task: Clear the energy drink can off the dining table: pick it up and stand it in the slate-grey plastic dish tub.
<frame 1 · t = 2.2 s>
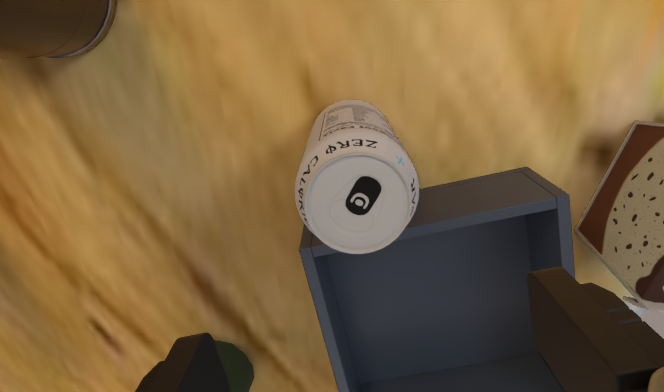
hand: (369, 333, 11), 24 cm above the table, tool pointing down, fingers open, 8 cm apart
dish tub: (431, 286, 38), on the table
energy drink can: (350, 137, 35), on the table
character mug: (222, 364, 42), on the table
food container: (636, 189, 36), on the table
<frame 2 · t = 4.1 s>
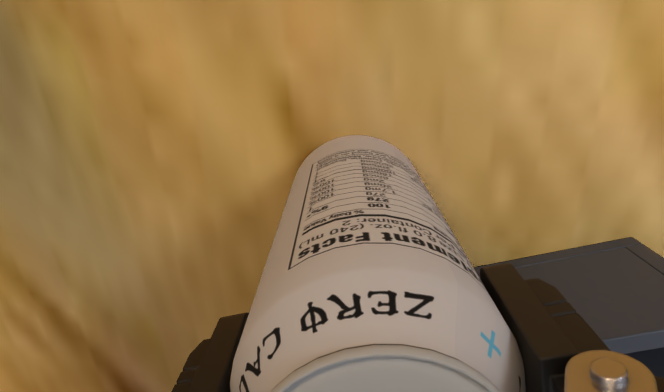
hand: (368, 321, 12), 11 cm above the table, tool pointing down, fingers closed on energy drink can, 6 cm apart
energy drink can: (355, 191, 22), on the table, touching gripper
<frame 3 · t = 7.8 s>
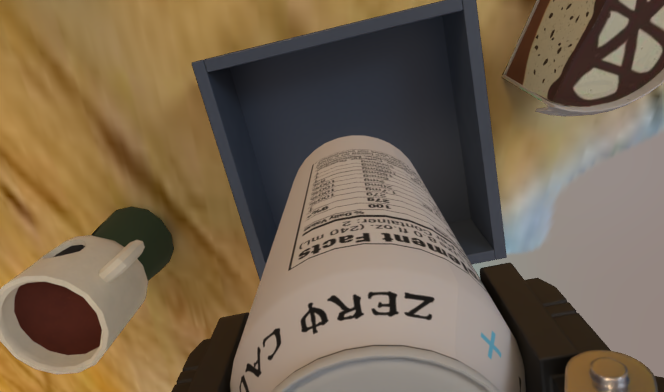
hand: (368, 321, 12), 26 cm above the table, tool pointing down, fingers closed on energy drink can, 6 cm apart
dish tub: (355, 144, 36), on the table
energy drink can: (355, 191, 22), point 15 cm above the table, touching gripper
character mug: (141, 237, 40), on the table
food container: (566, 29, 34), on the table
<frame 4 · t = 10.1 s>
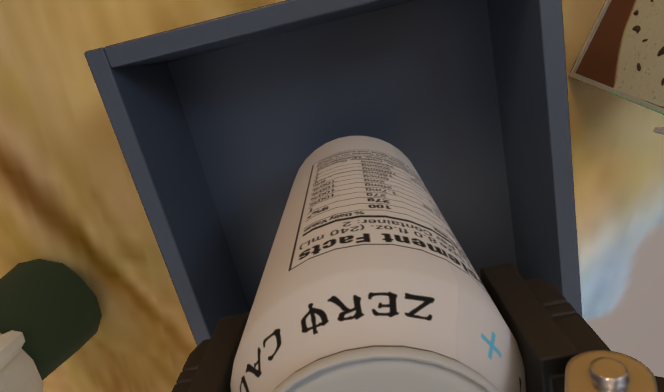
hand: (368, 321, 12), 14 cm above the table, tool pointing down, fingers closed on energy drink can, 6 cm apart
dish tub: (354, 172, 25), on the table
energy drink can: (355, 191, 22), point 4 cm above the table, touching gripper
character mug: (58, 298, 29), on the table
when the fingers open (11 cm above the table, at t = 11.5 s): energy drink can stays where it is, resting on dish tub.
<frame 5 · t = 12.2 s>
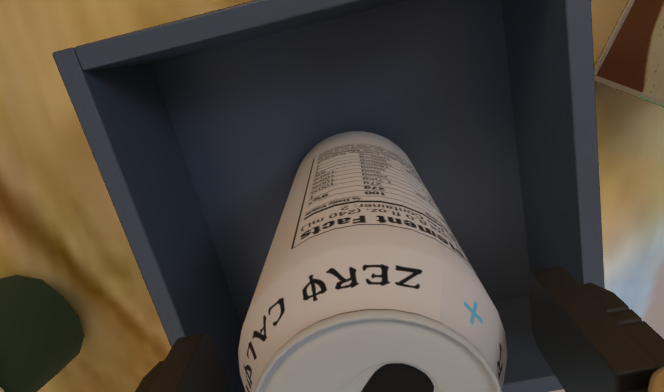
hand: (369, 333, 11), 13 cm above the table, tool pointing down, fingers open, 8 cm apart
dish tub: (355, 183, 24), on the table
energy drink can: (355, 185, 23), point 1 cm above the table, touching dish tub
character mug: (39, 315, 27), on the table
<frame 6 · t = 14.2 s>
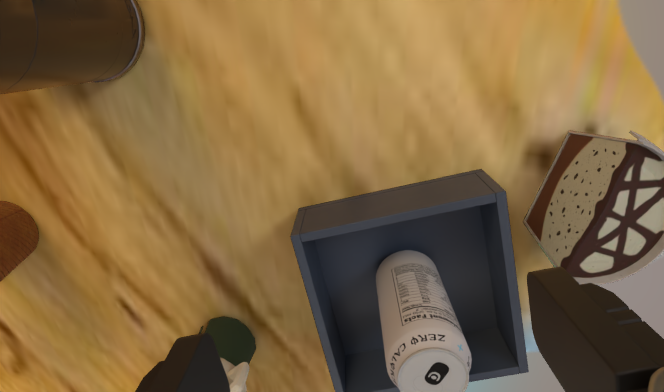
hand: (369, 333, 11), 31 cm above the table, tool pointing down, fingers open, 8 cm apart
dish tub: (405, 270, 46), on the table
energy drink can: (405, 272, 45), point 1 cm above the table, touching dish tub
character mug: (228, 337, 49), on the table
disposable coffee cup: (9, 229, 46), on the table
food container: (574, 187, 42), on the table
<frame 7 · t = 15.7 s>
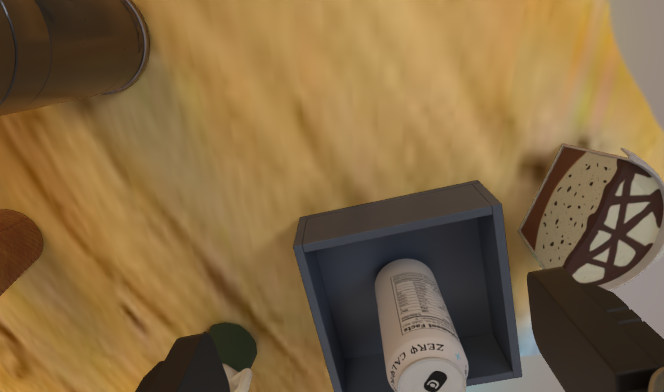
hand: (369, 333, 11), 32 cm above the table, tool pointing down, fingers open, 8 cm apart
dish tub: (403, 277, 47), on the table
energy drink can: (403, 279, 46), point 1 cm above the table, touching dish tub
character mug: (230, 342, 50), on the table
disposable coffee cup: (13, 237, 46), on the table
food container: (567, 198, 44), on the table
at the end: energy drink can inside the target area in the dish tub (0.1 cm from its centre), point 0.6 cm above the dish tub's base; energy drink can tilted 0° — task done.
